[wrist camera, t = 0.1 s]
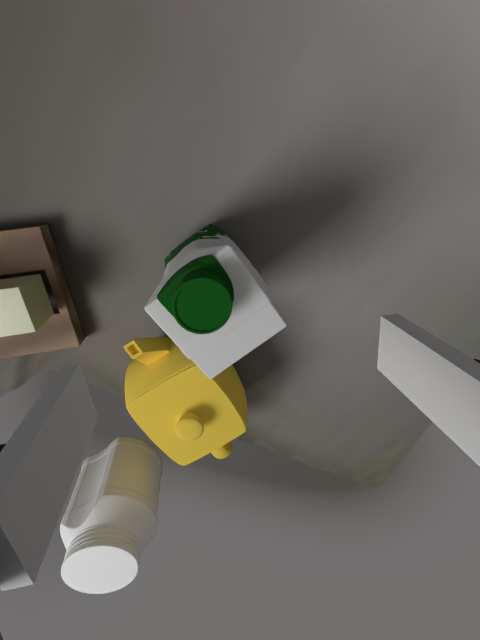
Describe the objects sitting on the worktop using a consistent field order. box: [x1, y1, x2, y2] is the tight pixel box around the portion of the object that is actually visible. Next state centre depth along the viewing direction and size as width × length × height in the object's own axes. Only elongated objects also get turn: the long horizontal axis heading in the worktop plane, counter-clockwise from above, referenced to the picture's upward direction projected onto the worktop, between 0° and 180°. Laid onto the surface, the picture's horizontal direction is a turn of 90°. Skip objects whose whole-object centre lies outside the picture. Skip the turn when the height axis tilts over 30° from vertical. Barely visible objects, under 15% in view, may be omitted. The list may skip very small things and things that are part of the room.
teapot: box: [123, 336, 247, 466], centre depth 40 cm, size 20×12×12 cm, turn 29°
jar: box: [60, 437, 162, 594], centre depth 44 cm, size 12×10×15 cm
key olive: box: [0, 274, 54, 337], centre depth 33 cm, size 5×5×5 cm
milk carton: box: [144, 224, 287, 379], centre depth 32 cm, size 9×9×20 cm
